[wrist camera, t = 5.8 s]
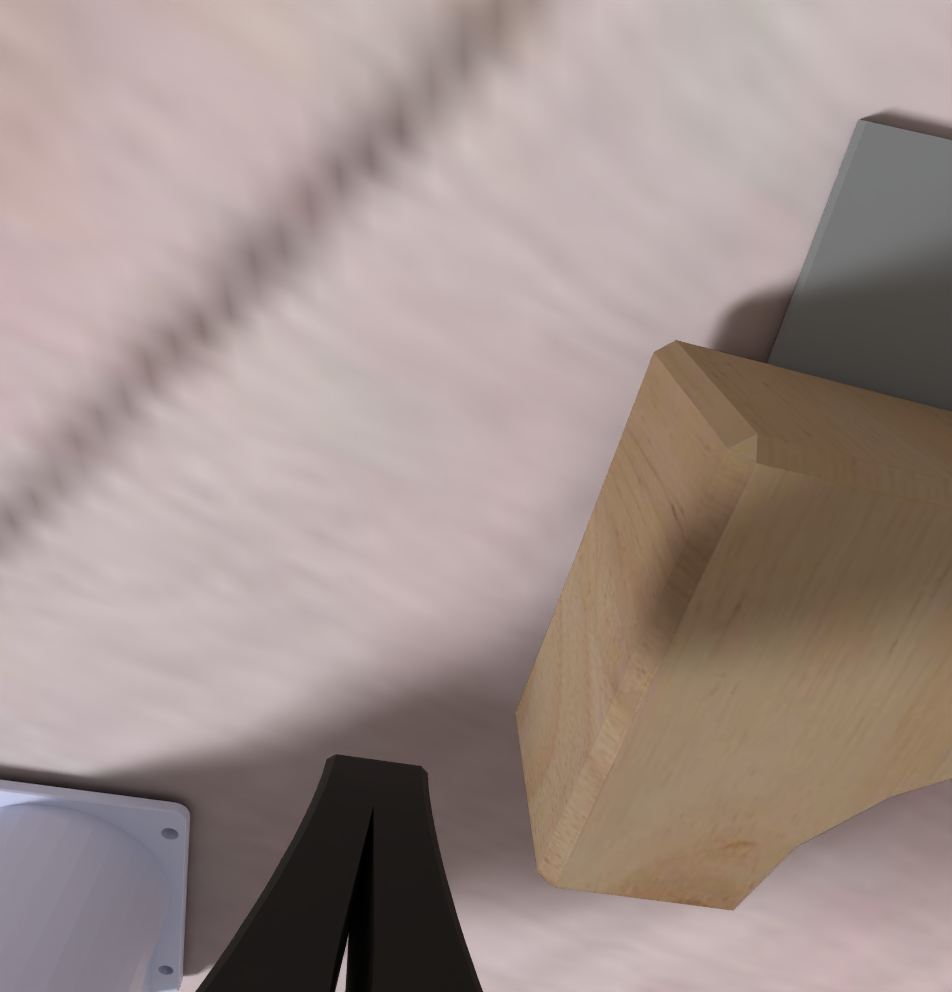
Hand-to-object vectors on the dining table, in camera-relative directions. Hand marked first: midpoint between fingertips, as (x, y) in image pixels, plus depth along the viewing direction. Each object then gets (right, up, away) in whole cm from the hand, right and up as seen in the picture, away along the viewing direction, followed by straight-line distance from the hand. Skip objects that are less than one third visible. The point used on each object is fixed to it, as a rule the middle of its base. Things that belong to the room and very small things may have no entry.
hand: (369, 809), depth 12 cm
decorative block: (+4, +2, +6) cm, 7 cm away
